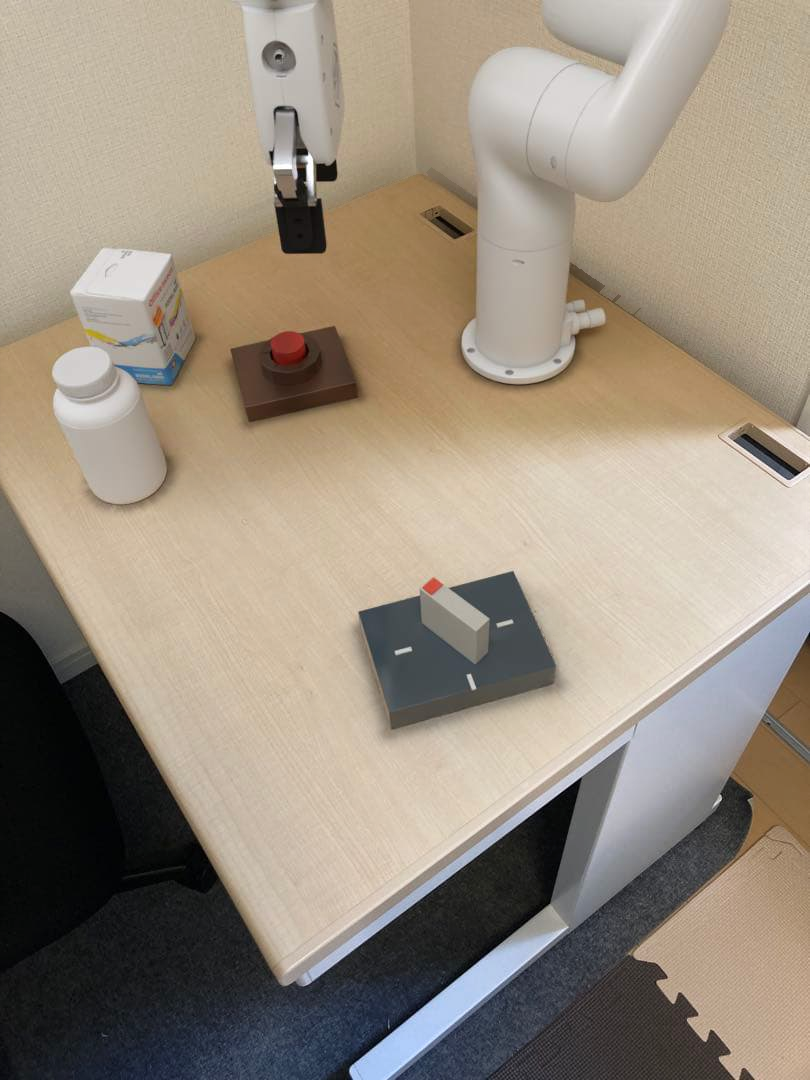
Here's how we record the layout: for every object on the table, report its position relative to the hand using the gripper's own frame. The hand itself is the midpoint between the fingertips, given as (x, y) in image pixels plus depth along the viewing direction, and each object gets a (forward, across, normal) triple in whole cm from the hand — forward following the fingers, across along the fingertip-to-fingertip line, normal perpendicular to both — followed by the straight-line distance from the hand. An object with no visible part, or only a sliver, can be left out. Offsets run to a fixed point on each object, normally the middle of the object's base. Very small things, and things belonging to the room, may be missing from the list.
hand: (311, 214), depth 68 cm
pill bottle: (+30, 0, +22) cm, 37 cm away
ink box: (+29, +19, +24) cm, 42 cm away
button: (+25, +15, +7) cm, 30 cm away
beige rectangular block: (+26, -21, -11) cm, 35 cm away
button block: (+29, +15, +7) cm, 33 cm away
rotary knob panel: (+29, -21, -11) cm, 37 cm away
